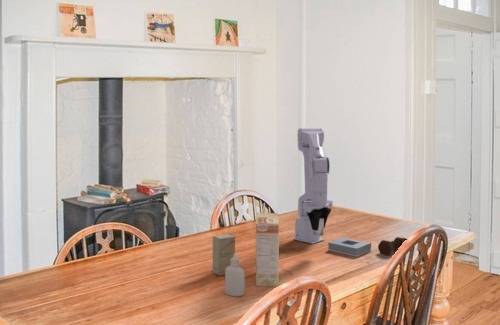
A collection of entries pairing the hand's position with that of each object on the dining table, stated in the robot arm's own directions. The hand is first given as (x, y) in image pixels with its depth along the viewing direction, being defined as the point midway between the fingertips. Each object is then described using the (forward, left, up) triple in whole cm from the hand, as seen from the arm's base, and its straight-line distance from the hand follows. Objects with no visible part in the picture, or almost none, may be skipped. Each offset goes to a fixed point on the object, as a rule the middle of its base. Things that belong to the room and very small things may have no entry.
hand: (318, 228), depth 206 cm
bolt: (+18, +23, -10) cm, 31 cm away
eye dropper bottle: (+5, -49, -10) cm, 50 cm away
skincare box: (-11, -37, -10) cm, 40 cm away
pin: (0, 0, -2) cm, 2 cm away
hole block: (+6, +12, -9) cm, 16 cm away
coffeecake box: (+3, -32, -10) cm, 34 cm away
